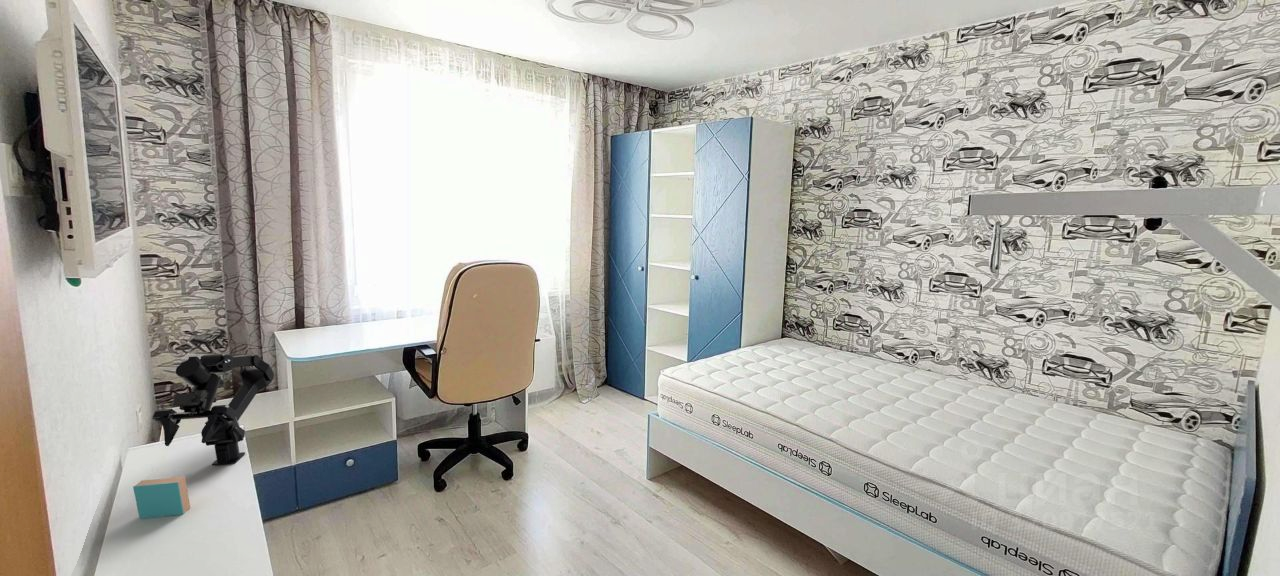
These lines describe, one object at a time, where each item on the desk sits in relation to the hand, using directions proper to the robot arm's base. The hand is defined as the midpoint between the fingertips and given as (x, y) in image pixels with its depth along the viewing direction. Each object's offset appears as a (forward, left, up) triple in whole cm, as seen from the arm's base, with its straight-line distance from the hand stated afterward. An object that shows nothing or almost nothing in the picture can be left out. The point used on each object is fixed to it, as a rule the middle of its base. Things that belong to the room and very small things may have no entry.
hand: (184, 444), depth 149 cm
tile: (+11, 0, -14) cm, 18 cm away
